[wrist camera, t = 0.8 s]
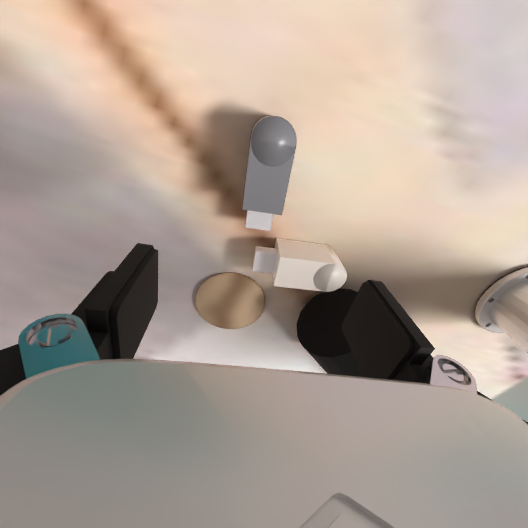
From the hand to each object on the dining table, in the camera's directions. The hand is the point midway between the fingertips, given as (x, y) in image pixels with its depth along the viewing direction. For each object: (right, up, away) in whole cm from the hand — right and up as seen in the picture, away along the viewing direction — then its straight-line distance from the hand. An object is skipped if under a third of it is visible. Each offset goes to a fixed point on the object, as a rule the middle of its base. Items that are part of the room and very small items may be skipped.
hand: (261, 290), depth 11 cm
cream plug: (+5, +2, +22) cm, 23 cm away
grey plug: (0, +12, +17) cm, 20 cm away
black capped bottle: (+17, -15, +34) cm, 40 cm away
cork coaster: (-5, -4, +26) cm, 27 cm away
